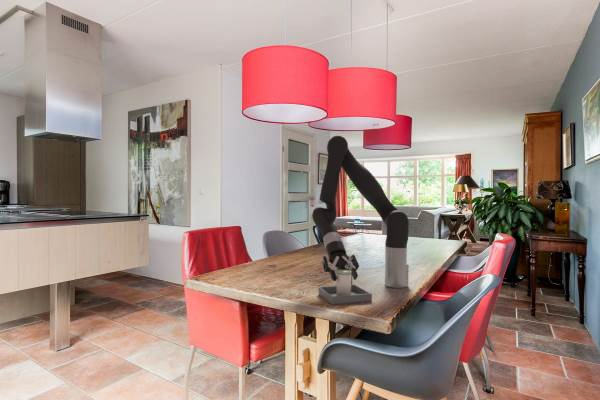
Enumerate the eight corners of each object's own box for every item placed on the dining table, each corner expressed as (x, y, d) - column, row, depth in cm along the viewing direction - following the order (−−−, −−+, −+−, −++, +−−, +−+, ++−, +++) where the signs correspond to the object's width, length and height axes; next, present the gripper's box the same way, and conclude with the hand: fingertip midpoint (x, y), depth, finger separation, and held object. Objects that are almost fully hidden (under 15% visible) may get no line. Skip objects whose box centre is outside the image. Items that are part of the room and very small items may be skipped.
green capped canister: (347, 294, 137) (347, 269, 137) (353, 298, 131) (354, 272, 131) (333, 295, 135) (334, 269, 135) (339, 299, 130) (340, 272, 130)
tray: (354, 291, 142) (354, 284, 142) (371, 301, 129) (371, 293, 129) (318, 294, 138) (318, 287, 138) (332, 305, 124) (332, 297, 124)
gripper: (320, 240, 138) (331, 275, 128) (352, 239, 143) (365, 272, 132) (315, 251, 144) (325, 285, 133) (346, 250, 148) (359, 283, 137)
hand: (345, 279), depth 132 cm, fingers open, 8 cm apart
